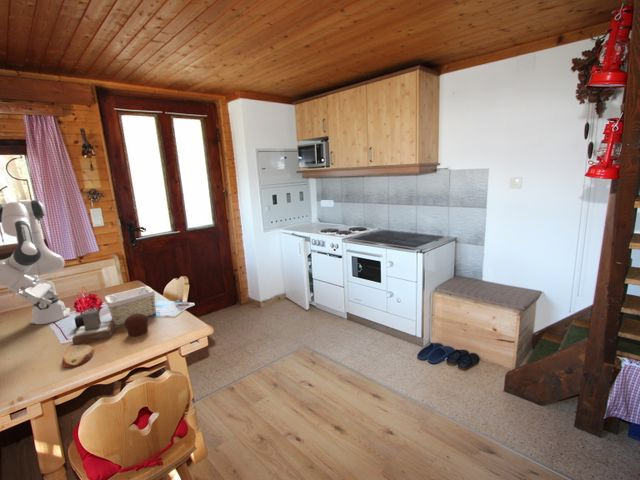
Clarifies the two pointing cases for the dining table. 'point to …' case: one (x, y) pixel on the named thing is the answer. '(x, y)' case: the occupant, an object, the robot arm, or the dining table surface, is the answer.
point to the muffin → (136, 324)
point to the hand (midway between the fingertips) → (53, 299)
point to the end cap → (79, 321)
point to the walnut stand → (93, 333)
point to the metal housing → (91, 320)
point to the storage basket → (131, 303)
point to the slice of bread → (77, 355)
